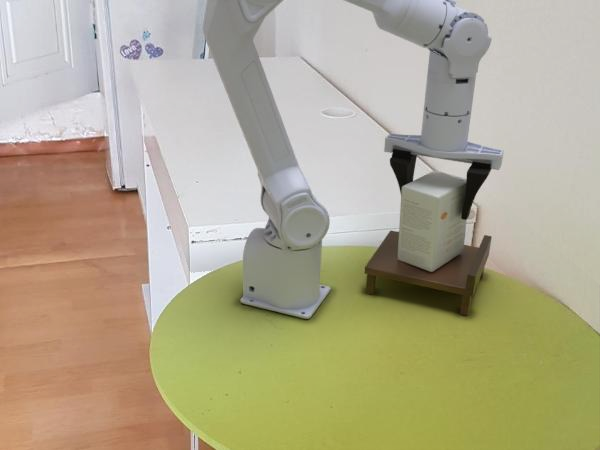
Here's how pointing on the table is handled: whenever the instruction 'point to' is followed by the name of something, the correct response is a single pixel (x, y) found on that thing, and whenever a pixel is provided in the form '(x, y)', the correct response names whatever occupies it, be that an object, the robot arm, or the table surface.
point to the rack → (449, 277)
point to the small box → (432, 220)
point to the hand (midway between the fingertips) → (435, 211)
